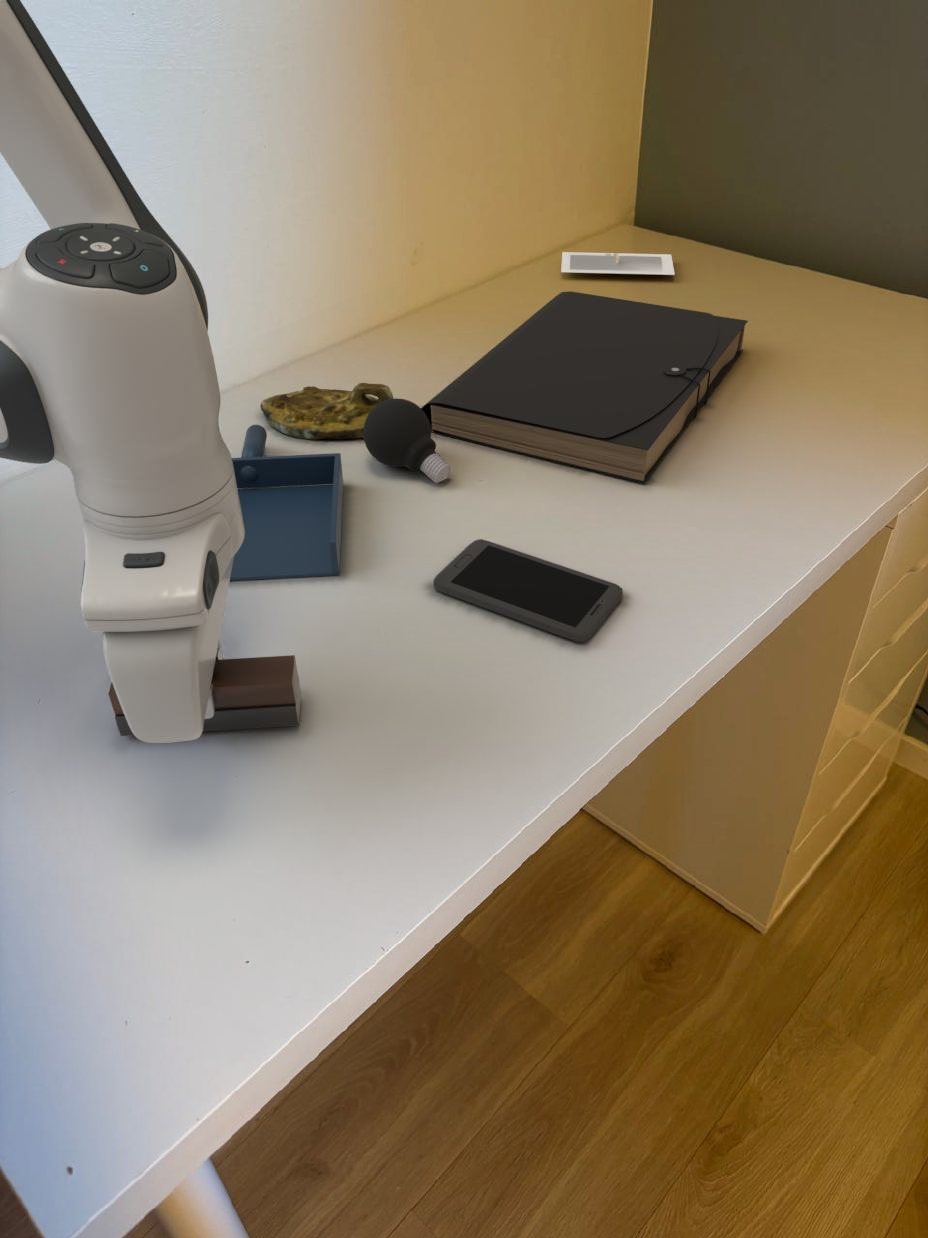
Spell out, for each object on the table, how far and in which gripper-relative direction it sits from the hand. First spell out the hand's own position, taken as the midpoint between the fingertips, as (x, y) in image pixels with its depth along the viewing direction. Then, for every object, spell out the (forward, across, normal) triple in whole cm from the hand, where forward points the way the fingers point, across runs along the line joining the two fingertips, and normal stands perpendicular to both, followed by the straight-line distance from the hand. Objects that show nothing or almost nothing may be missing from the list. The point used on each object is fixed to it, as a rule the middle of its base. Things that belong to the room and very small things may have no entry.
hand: (206, 690), depth 67 cm
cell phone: (+3, -12, +24) cm, 27 cm away
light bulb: (+3, -33, +15) cm, 37 cm away
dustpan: (+3, -27, 0) cm, 28 cm away
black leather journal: (+3, -48, +35) cm, 59 cm away
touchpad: (+3, -83, +45) cm, 94 cm away
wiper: (+2, 0, 0) cm, 2 cm away
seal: (+3, -44, +7) cm, 44 cm away
